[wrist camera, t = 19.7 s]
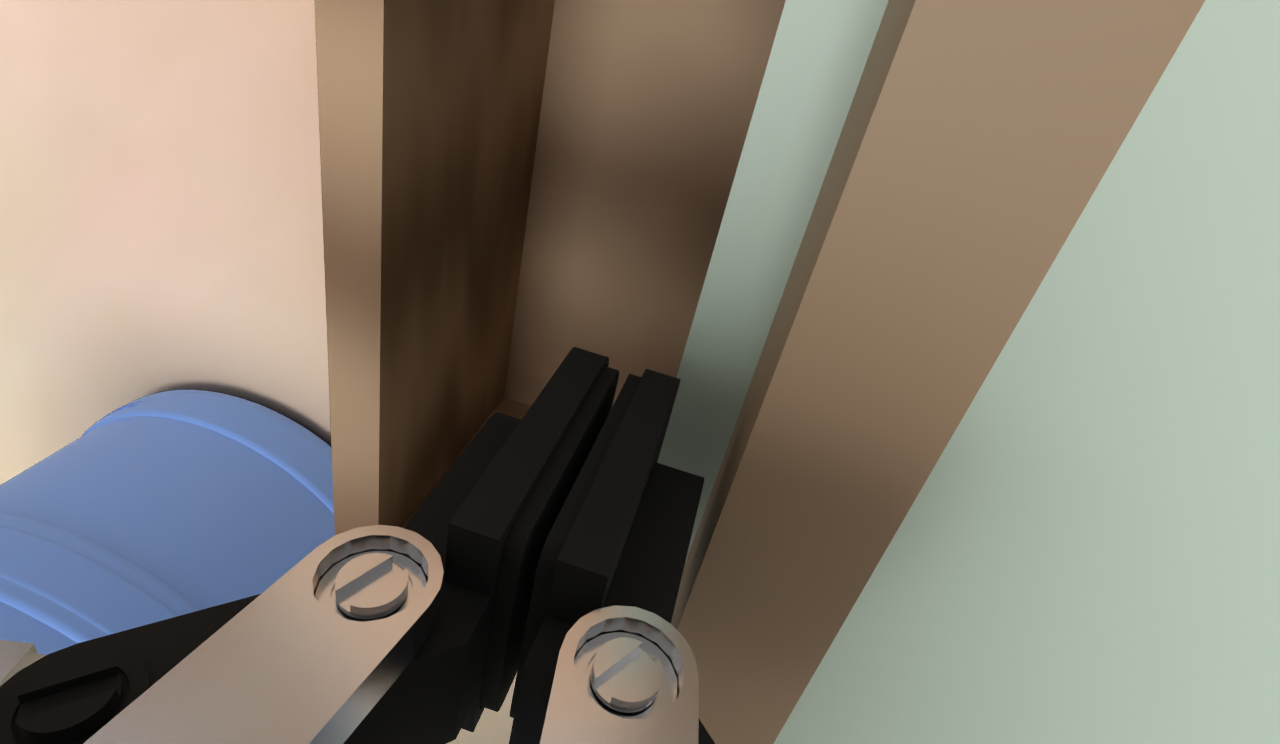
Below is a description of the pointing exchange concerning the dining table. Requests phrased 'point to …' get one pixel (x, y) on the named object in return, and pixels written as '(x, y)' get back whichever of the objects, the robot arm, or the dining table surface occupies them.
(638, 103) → the wooden box
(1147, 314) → the lid
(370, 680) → the robot arm
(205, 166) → the dining table surface
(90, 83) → the dining table surface
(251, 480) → the water jug
